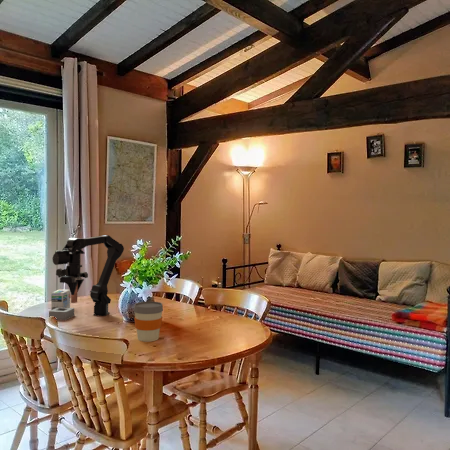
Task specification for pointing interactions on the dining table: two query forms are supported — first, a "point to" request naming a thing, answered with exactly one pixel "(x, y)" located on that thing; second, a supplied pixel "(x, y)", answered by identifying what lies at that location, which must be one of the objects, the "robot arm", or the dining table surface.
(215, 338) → the dining table surface
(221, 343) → the dining table surface
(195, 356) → the dining table surface
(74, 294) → the peg
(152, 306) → the reusable coffee cup
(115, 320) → the dining table surface
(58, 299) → the light bulb box
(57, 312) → the hole block
